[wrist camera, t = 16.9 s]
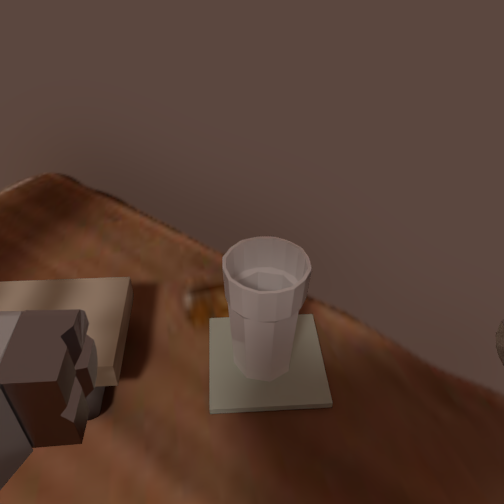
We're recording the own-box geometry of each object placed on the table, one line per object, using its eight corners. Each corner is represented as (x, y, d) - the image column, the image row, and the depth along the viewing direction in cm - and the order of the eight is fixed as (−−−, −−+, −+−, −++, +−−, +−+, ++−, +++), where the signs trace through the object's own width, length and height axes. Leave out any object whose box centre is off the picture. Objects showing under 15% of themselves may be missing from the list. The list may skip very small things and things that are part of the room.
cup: (252, 319, 47) (253, 226, 40) (313, 349, 44) (326, 255, 37) (210, 365, 42) (203, 270, 35) (275, 402, 39) (282, 307, 32)
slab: (-59, 428, 38) (-89, 386, 35) (-6, 316, 47) (-25, 275, 44) (122, 418, 39) (110, 377, 35) (139, 310, 48) (131, 269, 45)
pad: (209, 413, 39) (209, 409, 39) (209, 322, 47) (209, 318, 47) (331, 407, 40) (332, 403, 39) (312, 318, 48) (312, 313, 47)
